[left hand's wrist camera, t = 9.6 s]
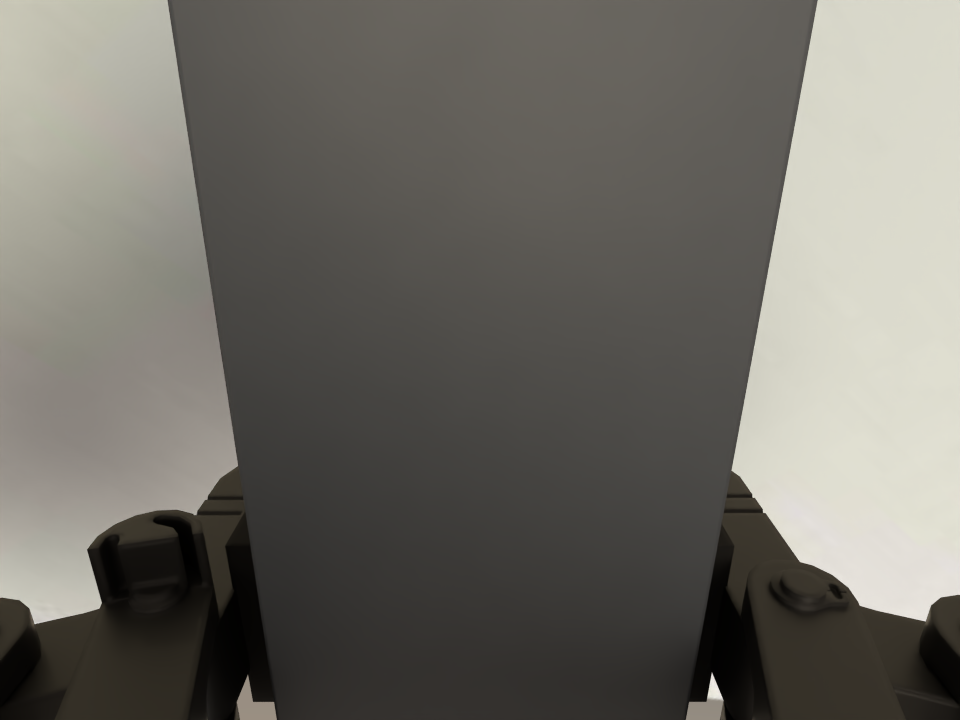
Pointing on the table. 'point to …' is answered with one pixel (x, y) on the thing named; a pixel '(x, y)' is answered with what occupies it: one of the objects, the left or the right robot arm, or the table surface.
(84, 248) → the table surface
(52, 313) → the table surface
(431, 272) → the beam
